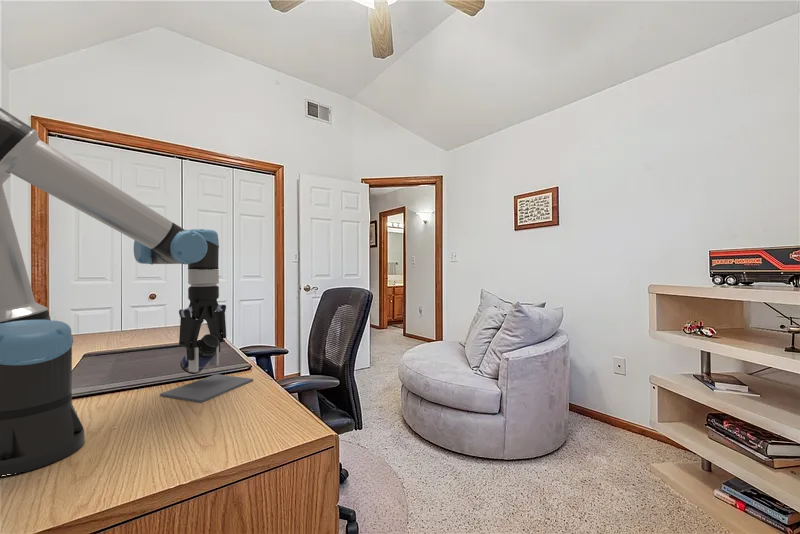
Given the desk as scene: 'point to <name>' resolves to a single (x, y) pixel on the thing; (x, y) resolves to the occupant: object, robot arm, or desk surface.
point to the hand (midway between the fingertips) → (204, 367)
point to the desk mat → (206, 388)
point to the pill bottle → (202, 352)
